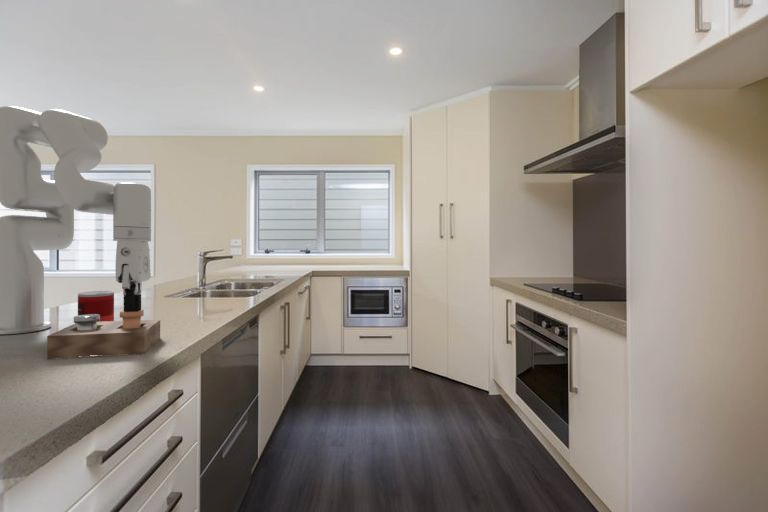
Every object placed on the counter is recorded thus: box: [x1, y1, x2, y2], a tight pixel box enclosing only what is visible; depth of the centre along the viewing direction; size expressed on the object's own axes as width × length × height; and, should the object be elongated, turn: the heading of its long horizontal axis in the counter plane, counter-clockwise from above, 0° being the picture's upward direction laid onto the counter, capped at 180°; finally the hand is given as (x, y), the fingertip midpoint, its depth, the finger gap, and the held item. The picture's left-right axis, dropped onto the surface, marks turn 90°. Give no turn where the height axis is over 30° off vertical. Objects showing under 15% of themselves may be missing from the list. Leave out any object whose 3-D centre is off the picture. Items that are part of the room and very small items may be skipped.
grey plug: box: [73, 314, 100, 330], centre depth 87 cm, size 5×5×7 cm
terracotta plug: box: [119, 309, 145, 329], centre depth 90 cm, size 5×5×7 cm
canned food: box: [77, 290, 115, 322], centre depth 103 cm, size 8×8×11 cm
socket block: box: [46, 319, 161, 360], centre depth 88 cm, size 18×14×5 cm
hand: (132, 311), depth 90 cm, fingers closed
